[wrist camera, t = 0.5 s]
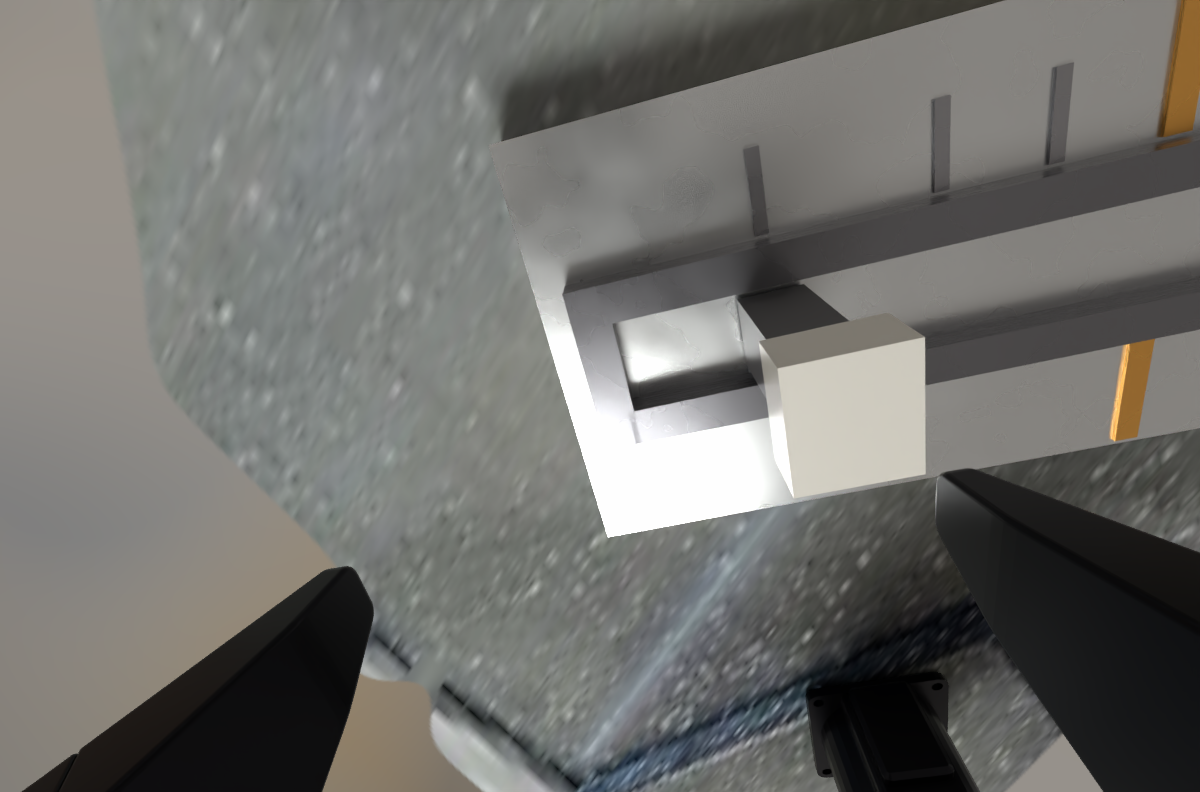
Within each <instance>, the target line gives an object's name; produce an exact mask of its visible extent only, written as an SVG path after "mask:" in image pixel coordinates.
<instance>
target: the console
mask: <svg viewBox="0 0 1200 792" xmlns="http://www.w3.org/2000/svg"><path fill="white" fill-rule="evenodd" d="M489 149H490V152H491V155H492V159H493V162H494V165H495V168H496V172H497V175H498V178H499V181H500V185H501V188H502V191H503V195H504V198H505V201H506V204H507V208H508V211H509V214H510V217H511V221H512V224H513V227H514V231H515V234H516V237H517V240H518V244H519V247H520V250H521V253H522V257H523V260H524V263H525V267H526V270H527V273H528V276H529V280H530V283H531V286H532V290H533V293H534V296H535V299H536V303H537V306H538V309H539V312H540V316H541V319H542V322H543V326H544V329H545V332H546V335H547V339H548V342H549V345H550V348H551V352H552V355H553V358H554V362H555V365H556V368H557V371H558V375H559V378H560V381H561V384H562V388H563V391H564V394H565V398H566V401H567V404H568V407H569V411H570V414H571V417H572V421H573V424H574V427H575V430H576V434H577V437H578V440H579V443H580V447H581V450H582V453H583V457H584V460H585V463H586V466H587V470H588V473H589V476H590V479H591V483H592V486H593V489H594V493H595V496H596V499H597V502H598V506H599V509H600V512H601V515H602V519H603V522H604V525H605V529H606V532H607V535H608V537H611V536H617V535H622V534H627V533H633V532H638V531H644V530H649V529H655V528H660V527H665V526H671V525H676V524H682V523H687V522H693V521H698V520H703V519H709V518H714V517H720V516H725V515H731V514H736V513H741V512H747V511H752V510H758V509H763V508H769V507H774V506H779V505H785V504H790V503H796V502H801V501H807V500H812V499H817V498H823V497H828V496H834V495H839V494H845V493H850V492H855V491H861V490H866V489H872V488H877V487H883V486H888V485H893V484H899V483H904V482H910V481H915V480H921V479H926V478H931V477H937V476H939V475H940V474H941V473H942V472H946V471H952V470H958V469H964V468H972V469H980V468H986V467H991V466H997V465H1002V464H1007V463H1013V462H1018V461H1024V460H1029V459H1035V458H1040V457H1046V456H1051V455H1056V454H1062V453H1067V452H1073V451H1078V450H1084V449H1089V448H1094V447H1100V446H1105V445H1111V444H1116V443H1122V442H1127V441H1132V440H1138V439H1143V438H1149V437H1154V436H1160V435H1165V434H1170V433H1176V432H1181V431H1187V430H1192V429H1198V428H1200V0H1004V1H1001V2H997V3H994V4H990V5H986V6H983V7H979V8H976V9H972V10H969V11H965V12H962V13H958V14H954V15H951V16H947V17H944V18H940V19H937V20H933V21H929V22H926V23H922V24H919V25H915V26H912V27H908V28H904V29H901V30H897V31H894V32H890V33H887V34H883V35H880V36H876V37H872V38H869V39H865V40H862V41H858V42H855V43H851V44H847V45H844V46H840V47H837V48H833V49H830V50H826V51H823V52H819V53H815V54H812V55H808V56H805V57H801V58H798V59H794V60H790V61H787V62H783V63H780V64H776V65H773V66H769V67H765V68H762V69H758V70H755V71H751V72H748V73H744V74H741V75H737V76H733V77H730V78H726V79H723V80H719V81H716V82H712V83H708V84H705V85H701V86H698V87H694V88H691V89H687V90H684V91H680V92H676V93H673V94H669V95H666V96H662V97H659V98H655V99H651V100H648V101H644V102H641V103H637V104H634V105H630V106H626V107H623V108H619V109H616V110H612V111H609V112H605V113H602V114H598V115H594V116H591V117H587V118H584V119H580V120H577V121H573V122H569V123H566V124H562V125H559V126H555V127H552V128H548V129H545V130H541V131H537V132H534V133H530V134H527V135H523V136H520V137H516V138H512V139H509V140H505V141H502V142H498V143H495V144H491V145H489ZM802 284H804V285H806V286H807V287H808V288H809V289H810V290H812V291H813V292H814V293H815V294H817V295H818V296H819V297H820V298H822V299H823V300H824V301H825V302H827V303H828V304H829V305H830V306H831V307H833V308H834V309H835V310H836V311H838V312H839V313H840V314H841V315H843V316H844V317H845V318H846V319H848V320H849V321H852V320H856V319H861V318H865V317H870V316H874V315H879V314H883V313H890V314H891V315H893V316H894V317H896V318H897V319H899V320H900V321H902V322H903V323H905V324H906V325H908V326H909V327H911V328H912V329H914V330H915V331H917V332H918V333H920V334H921V335H923V336H924V337H925V457H926V474H924V475H919V476H913V477H908V478H902V479H897V480H892V481H886V482H881V483H875V484H870V485H865V486H859V487H854V488H848V489H843V490H837V491H832V492H827V493H821V494H816V495H810V496H805V497H800V498H793V496H792V494H791V492H790V490H789V488H788V486H787V484H786V482H785V480H784V478H783V476H782V474H781V472H780V470H779V467H778V465H777V463H776V461H775V457H774V450H773V443H772V435H771V428H770V421H769V413H768V406H767V400H766V398H765V396H764V394H763V393H762V391H761V389H760V387H759V386H758V384H757V382H756V380H755V379H754V377H753V375H752V373H751V372H750V370H749V368H748V366H747V364H746V357H745V351H744V344H743V337H742V330H741V324H740V317H739V310H738V304H737V299H741V298H745V297H750V296H754V295H758V294H763V293H767V292H771V291H776V290H780V289H784V288H789V287H793V286H797V285H802Z"/></svg>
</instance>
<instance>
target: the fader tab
mask: <svg viewBox="0 0 1200 792" xmlns="http://www.w3.org/2000/svg"><path fill="white" fill-rule="evenodd" d="M737 304H738V310H739V317H740V324H741V330H742V337H743V344H744V351H745V357H746V364H747V366H748V368H749V370H750V372H751V373H752V375H753V377H754V379H755V380H756V382H757V384H758V386H759V387H760V389H761V391H762V393H763V394H764V396H765V398H766V400H767V406H768V413H769V421H770V428H771V435H772V443H773V450H774V457H775V461H776V463H777V465H778V467H779V470H780V472H781V474H782V476H783V478H784V480H785V482H786V484H787V486H788V488H789V490H790V492H791V494H792V496H793V498H800V497H805V496H810V495H816V494H821V493H827V492H832V491H837V490H843V489H848V488H854V487H859V486H865V485H870V484H875V483H881V482H886V481H892V480H897V479H902V478H908V477H913V476H919V475H924V474H926V457H925V337H924V336H923V335H921V334H920V333H918V332H917V331H915V330H914V329H912V328H911V327H909V326H908V325H906V324H905V323H903V322H902V321H900V320H899V319H897V318H896V317H894V316H893V315H891V314H890V313H883V314H879V315H874V316H870V317H865V318H861V319H856V320H852V321H849V320H848V319H846V318H845V317H844V316H843V315H841V314H840V313H839V312H838V311H836V310H835V309H834V308H833V307H831V306H830V305H829V304H828V303H827V302H825V301H824V300H823V299H822V298H820V297H819V296H818V295H817V294H815V293H814V292H813V291H812V290H810V289H809V288H808V287H807V286H806V285H804V284H802V285H797V286H793V287H789V288H784V289H780V290H776V291H771V292H767V293H763V294H758V295H754V296H750V297H745V298H741V299H737Z"/></svg>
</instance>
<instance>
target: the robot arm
mask: <svg viewBox="0 0 1200 792" xmlns="http://www.w3.org/2000/svg"><path fill="white" fill-rule="evenodd" d="M935 523H936V527H937V531H938V533H939V535H940V537H941V539H942V541H943V543H944V545H945V547H946V548H947V550H948V552H949V554H950V556H951V558H952V559H953V561H954V563H955V565H956V567H957V569H958V570H959V572H960V574H961V576H962V578H963V579H964V581H965V583H966V585H967V587H968V589H969V590H970V592H971V594H972V596H973V598H974V600H975V601H976V603H977V605H978V607H979V609H980V611H981V612H982V614H983V616H984V618H985V619H986V621H987V623H988V625H989V626H990V628H991V630H992V631H993V633H994V634H995V636H996V637H997V639H998V640H999V642H1000V643H1001V645H1002V646H1003V648H1004V649H1005V651H1006V652H1007V654H1008V655H1009V657H1010V658H1011V660H1012V661H1013V662H1014V664H1015V665H1016V667H1017V668H1018V670H1019V671H1020V672H1021V674H1022V675H1023V677H1024V678H1025V680H1026V681H1027V683H1028V684H1029V685H1030V687H1031V688H1032V690H1033V691H1034V693H1035V694H1036V695H1037V697H1038V698H1039V700H1040V701H1041V703H1042V704H1043V706H1044V707H1045V708H1046V710H1047V711H1048V713H1049V714H1050V716H1051V717H1052V718H1053V720H1054V721H1055V723H1056V724H1057V726H1058V727H1059V729H1060V730H1061V731H1062V733H1063V734H1064V736H1065V737H1066V739H1067V740H1068V741H1069V743H1070V744H1071V746H1072V747H1073V749H1074V750H1075V751H1076V753H1077V754H1078V756H1079V757H1080V759H1081V760H1082V762H1083V763H1084V765H1085V766H1086V767H1087V769H1088V770H1089V771H1090V773H1091V775H1092V776H1093V777H1094V779H1095V780H1096V782H1097V783H1098V785H1099V786H1100V788H1101V789H1102V790H1103V792H1200V553H1199V552H1197V551H1194V550H1191V549H1189V548H1186V547H1183V546H1181V545H1178V544H1175V543H1172V542H1170V541H1167V540H1164V539H1162V538H1159V537H1156V536H1154V535H1151V534H1148V533H1145V532H1143V531H1140V530H1137V529H1135V528H1132V527H1129V526H1127V525H1124V524H1121V523H1118V522H1116V521H1113V520H1110V519H1108V518H1105V517H1102V516H1100V515H1097V514H1094V513H1091V512H1089V511H1086V510H1083V509H1081V508H1078V507H1075V506H1073V505H1070V504H1067V503H1064V502H1062V501H1059V500H1056V499H1054V498H1051V497H1048V496H1046V495H1043V494H1040V493H1037V492H1035V491H1032V490H1029V489H1027V488H1024V487H1021V486H1019V485H1016V484H1013V483H1010V482H1008V481H1005V480H1002V479H1000V478H997V477H994V476H992V475H989V474H986V473H983V472H981V471H978V470H975V469H972V468H964V469H958V470H952V471H946V472H942V473H941V474H940V475H939V476H938V478H937V482H936V506H935ZM373 616H374V609H373V604H372V601H371V599H370V597H369V595H368V593H367V591H366V589H365V587H364V586H363V584H362V582H361V580H360V578H359V576H358V574H357V572H356V571H355V570H354V569H353V568H352V567H349V566H344V567H338V568H332V569H327V570H324V571H323V572H321V573H320V574H319V575H317V576H316V577H314V578H313V579H312V580H310V581H309V582H307V583H306V584H305V585H303V586H302V587H301V588H299V589H298V590H297V591H295V592H294V593H292V595H290V596H289V597H287V598H286V599H284V600H283V601H282V602H280V603H279V604H277V605H276V606H275V607H273V608H272V609H271V610H269V611H268V612H267V613H265V614H264V615H263V616H261V617H260V618H258V619H257V620H256V621H254V622H253V623H252V624H250V625H249V626H248V627H246V628H245V629H243V630H242V631H241V632H239V633H238V634H237V635H235V636H234V637H232V638H231V639H230V640H228V641H227V642H226V643H225V644H223V645H222V646H220V647H219V648H218V649H216V650H215V651H213V652H212V653H211V654H209V655H208V656H207V657H205V658H204V659H202V660H201V661H200V662H198V663H197V664H196V665H194V666H193V667H192V668H190V669H189V670H187V671H186V672H185V673H184V674H182V675H181V676H179V677H178V678H177V679H175V680H174V681H172V682H171V683H170V684H168V685H167V686H166V687H164V688H163V689H161V690H160V691H159V692H157V693H156V694H155V695H153V696H152V697H151V698H149V699H148V700H146V701H145V702H144V703H142V704H141V705H140V706H138V707H137V708H136V709H134V710H133V711H131V712H130V713H129V714H127V715H126V716H125V717H123V718H122V719H121V720H119V721H118V722H117V723H115V724H114V725H112V726H111V727H110V728H109V729H107V730H106V731H104V732H103V733H101V734H100V735H99V736H97V737H96V738H95V739H93V740H92V741H91V742H89V743H88V744H87V745H85V746H84V747H83V748H81V749H80V751H79V753H78V754H73V755H71V756H70V757H69V758H67V759H66V760H64V761H63V762H62V763H61V764H59V765H58V766H56V767H55V768H54V769H52V770H51V771H49V772H48V773H47V774H45V775H44V776H43V777H41V778H40V779H39V780H37V781H36V782H34V783H33V784H32V785H30V786H29V787H27V788H26V789H25V790H23V791H22V792H322V790H323V788H324V785H325V782H326V779H327V776H328V773H329V771H330V768H331V765H332V762H333V759H334V757H335V754H336V751H337V748H338V745H339V742H340V739H341V737H342V734H343V731H344V728H345V725H346V722H347V719H348V716H349V713H350V709H351V705H352V702H353V698H354V694H355V690H356V686H357V682H358V678H359V674H360V670H361V666H362V662H363V658H364V654H365V650H366V646H367V642H368V638H369V634H370V630H371V626H372V622H373ZM806 704H807V711H808V718H809V725H810V732H811V740H812V747H813V754H814V761H815V767H816V770H817V773H818V775H819V776H821V777H834V780H835V783H836V786H837V789H838V791H839V792H980V791H979V789H978V787H977V785H976V783H975V782H974V780H973V778H972V776H971V774H970V773H969V771H968V769H967V767H966V765H965V763H964V762H963V760H962V758H961V756H960V754H959V753H958V751H957V749H956V747H955V745H954V744H953V742H952V740H951V738H950V736H949V735H948V733H947V730H948V682H947V681H946V679H945V677H944V676H943V675H942V674H941V673H938V672H931V673H924V674H917V675H910V676H903V677H896V678H889V679H882V680H875V681H868V682H861V683H854V684H847V685H840V686H833V687H826V688H819V689H814V690H811V691H809V692H808V693H807V694H806Z"/></svg>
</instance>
